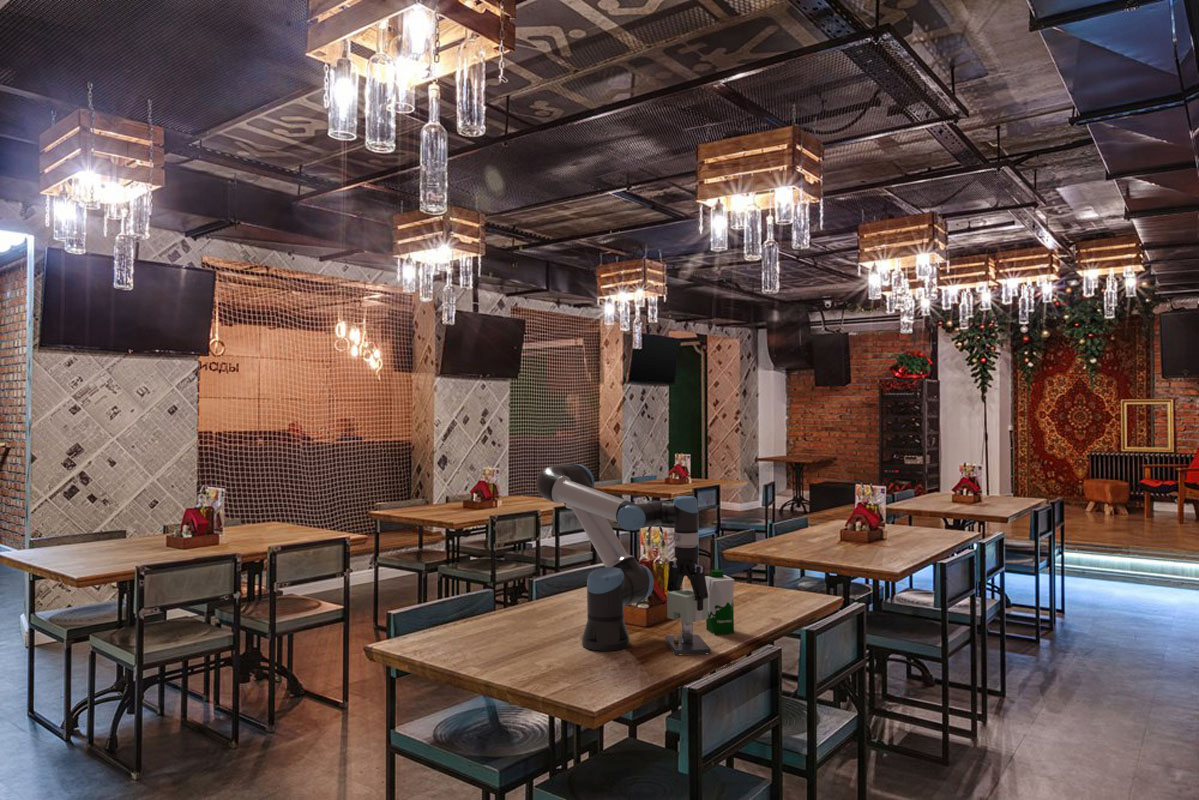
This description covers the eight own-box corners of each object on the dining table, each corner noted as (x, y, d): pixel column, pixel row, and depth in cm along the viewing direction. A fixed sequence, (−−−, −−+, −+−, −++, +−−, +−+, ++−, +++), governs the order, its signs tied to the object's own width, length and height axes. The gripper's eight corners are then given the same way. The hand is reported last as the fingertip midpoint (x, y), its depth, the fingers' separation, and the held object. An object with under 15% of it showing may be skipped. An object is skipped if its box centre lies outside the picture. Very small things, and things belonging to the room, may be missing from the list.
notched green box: (686, 623, 239) (686, 597, 239) (667, 617, 246) (666, 592, 247) (708, 618, 245) (707, 593, 245) (688, 613, 252) (687, 588, 252)
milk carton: (726, 626, 269) (725, 568, 269) (737, 634, 260) (737, 573, 260) (702, 629, 266) (702, 570, 267) (713, 636, 258) (713, 575, 258)
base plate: (675, 655, 237) (675, 622, 237) (664, 640, 253) (664, 609, 253) (710, 653, 238) (710, 620, 238) (698, 639, 254) (697, 608, 254)
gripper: (654, 542, 253) (655, 612, 252) (701, 551, 235) (703, 626, 235) (672, 540, 257) (673, 609, 256) (719, 548, 240) (720, 622, 239)
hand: (687, 617), depth 246 cm, fingers closed on notched green box, 9 cm apart
